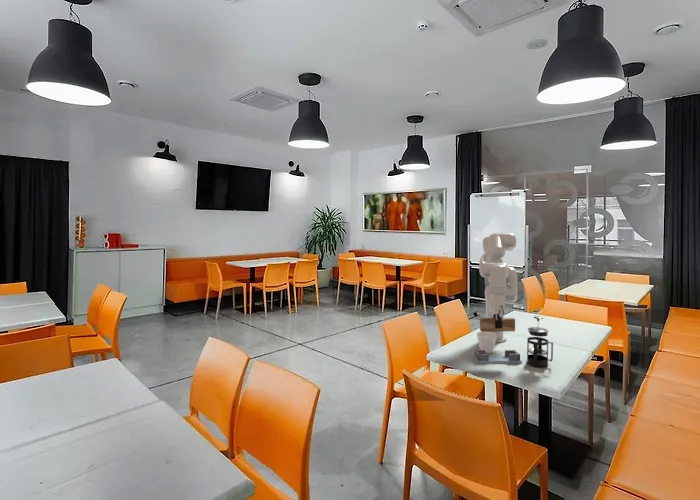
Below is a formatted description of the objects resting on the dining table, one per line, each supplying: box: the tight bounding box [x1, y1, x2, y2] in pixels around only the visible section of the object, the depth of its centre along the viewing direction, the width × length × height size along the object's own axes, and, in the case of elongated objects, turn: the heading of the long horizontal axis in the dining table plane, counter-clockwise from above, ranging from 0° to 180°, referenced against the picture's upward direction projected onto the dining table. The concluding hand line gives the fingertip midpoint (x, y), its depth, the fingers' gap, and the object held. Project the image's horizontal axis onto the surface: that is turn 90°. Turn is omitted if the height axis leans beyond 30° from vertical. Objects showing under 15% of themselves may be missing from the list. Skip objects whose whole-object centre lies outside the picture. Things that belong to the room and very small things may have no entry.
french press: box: [526, 315, 554, 369], centre depth 183 cm, size 12×9×23 cm
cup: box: [476, 331, 497, 354], centre depth 203 cm, size 10×10×9 cm
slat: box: [479, 317, 516, 332], centre depth 189 cm, size 3×16×6 cm, turn 88°
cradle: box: [472, 349, 523, 364], centre depth 191 cm, size 8×21×4 cm, turn 88°
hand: (497, 326), depth 189 cm, fingers closed on slat, 2 cm apart
